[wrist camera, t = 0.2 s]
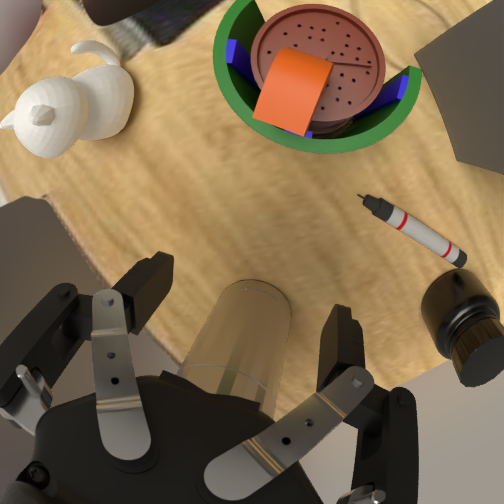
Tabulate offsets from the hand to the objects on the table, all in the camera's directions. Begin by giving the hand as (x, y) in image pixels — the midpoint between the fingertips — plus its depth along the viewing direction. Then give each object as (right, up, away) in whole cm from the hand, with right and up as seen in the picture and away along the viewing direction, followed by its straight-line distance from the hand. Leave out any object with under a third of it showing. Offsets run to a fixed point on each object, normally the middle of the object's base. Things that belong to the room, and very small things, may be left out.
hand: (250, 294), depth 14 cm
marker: (+18, +5, +14) cm, 23 cm away
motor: (+6, +17, +12) cm, 21 cm away
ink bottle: (+25, -4, +16) cm, 30 cm away
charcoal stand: (+23, +18, +7) cm, 30 cm away
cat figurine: (-16, +21, +15) cm, 30 cm away
